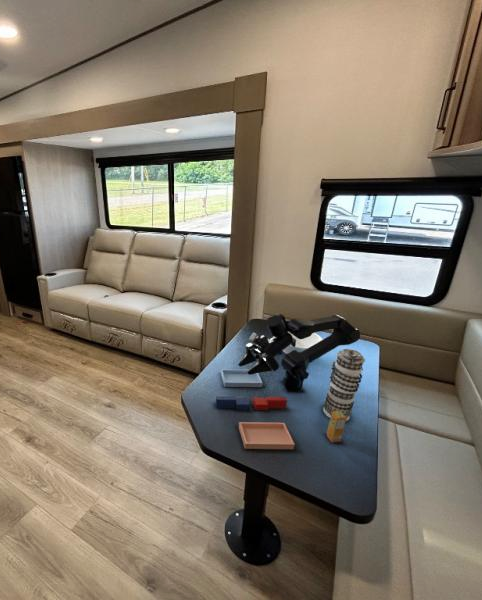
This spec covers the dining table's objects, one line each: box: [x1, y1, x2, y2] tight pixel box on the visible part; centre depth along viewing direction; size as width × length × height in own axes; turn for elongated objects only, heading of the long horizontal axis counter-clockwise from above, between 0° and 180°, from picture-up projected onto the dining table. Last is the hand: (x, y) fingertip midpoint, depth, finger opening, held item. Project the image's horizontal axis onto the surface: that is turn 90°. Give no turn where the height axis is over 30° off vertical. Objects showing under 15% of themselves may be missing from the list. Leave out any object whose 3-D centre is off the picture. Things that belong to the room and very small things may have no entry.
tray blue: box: [220, 368, 263, 388], centre depth 131 cm, size 15×9×2 cm, turn 89°
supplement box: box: [326, 411, 347, 443], centre depth 100 cm, size 3×3×10 cm
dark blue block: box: [215, 395, 249, 411], centre depth 116 cm, size 11×4×4 cm, turn 89°
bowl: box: [281, 332, 324, 355], centre depth 151 cm, size 21×21×8 cm
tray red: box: [238, 421, 295, 450], centre depth 102 cm, size 15×9×2 cm, turn 89°
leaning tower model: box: [322, 348, 366, 422], centre depth 108 cm, size 9×9×25 cm
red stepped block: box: [252, 396, 288, 411], centre depth 115 cm, size 11×4×4 cm, turn 89°
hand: (243, 369), depth 116 cm, fingers open, 9 cm apart
